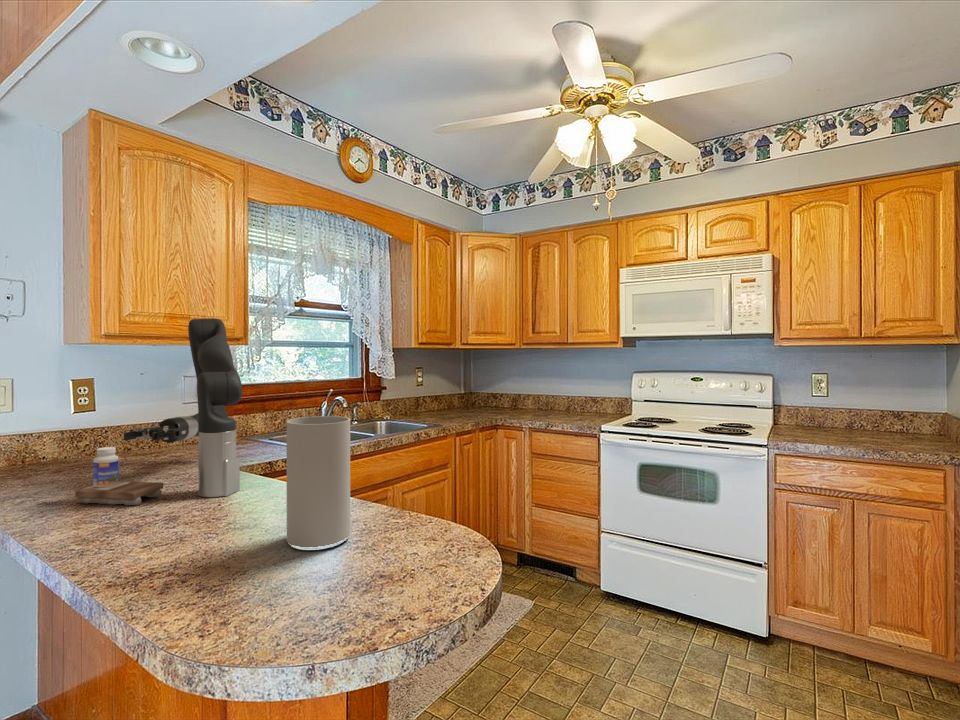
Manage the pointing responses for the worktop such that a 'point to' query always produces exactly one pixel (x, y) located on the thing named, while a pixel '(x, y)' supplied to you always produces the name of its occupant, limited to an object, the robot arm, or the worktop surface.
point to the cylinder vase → (318, 480)
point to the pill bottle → (106, 468)
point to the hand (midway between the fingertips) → (138, 436)
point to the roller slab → (119, 493)
